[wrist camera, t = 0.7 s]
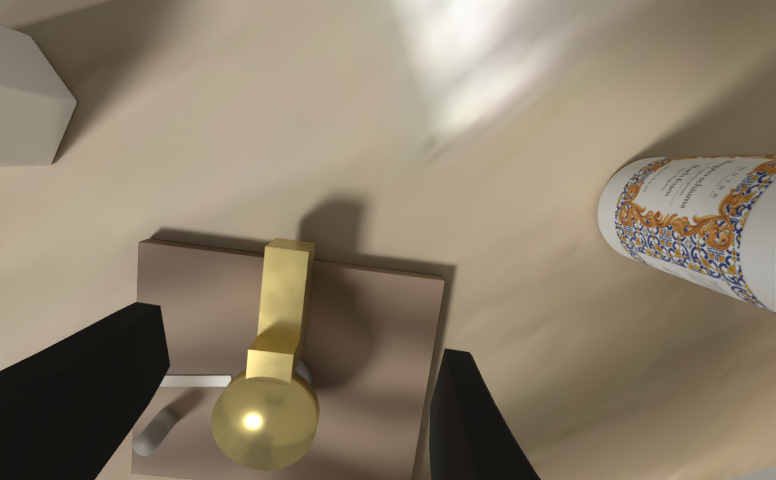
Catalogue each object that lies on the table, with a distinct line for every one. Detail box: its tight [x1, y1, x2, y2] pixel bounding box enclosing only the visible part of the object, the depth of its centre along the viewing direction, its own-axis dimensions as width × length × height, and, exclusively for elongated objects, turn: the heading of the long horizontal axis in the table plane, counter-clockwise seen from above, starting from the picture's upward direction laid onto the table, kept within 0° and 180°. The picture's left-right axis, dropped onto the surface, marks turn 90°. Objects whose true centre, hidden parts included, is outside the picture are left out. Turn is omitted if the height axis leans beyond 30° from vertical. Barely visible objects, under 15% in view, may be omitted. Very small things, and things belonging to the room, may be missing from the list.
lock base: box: [131, 239, 445, 480], centre depth 28 cm, size 17×20×4 cm
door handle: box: [211, 238, 320, 471], centre depth 25 cm, size 13×6×5 cm, turn 172°
